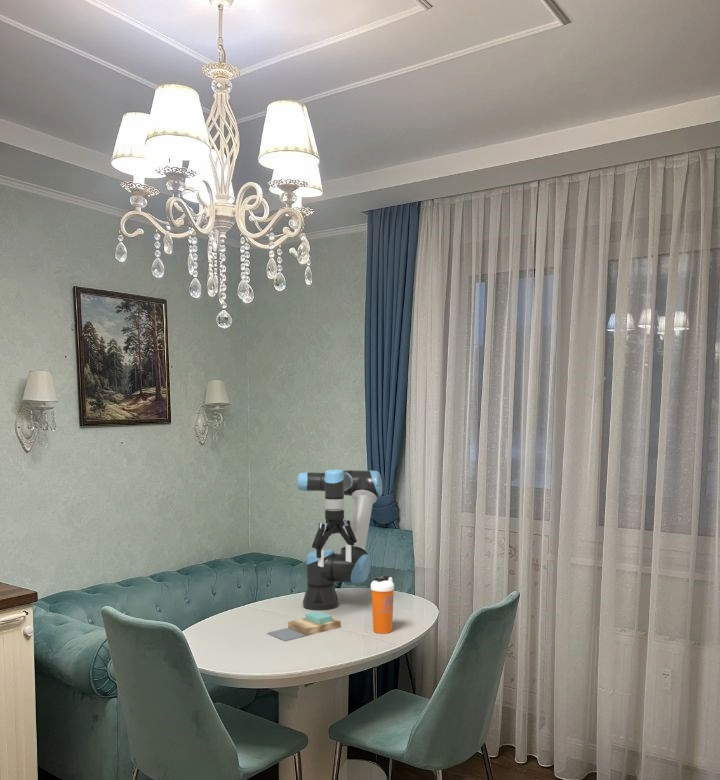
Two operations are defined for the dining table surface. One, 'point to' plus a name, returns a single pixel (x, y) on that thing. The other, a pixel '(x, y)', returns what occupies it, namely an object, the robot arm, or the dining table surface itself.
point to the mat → (286, 634)
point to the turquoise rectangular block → (318, 617)
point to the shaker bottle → (382, 604)
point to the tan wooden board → (312, 626)
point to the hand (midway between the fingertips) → (334, 564)
